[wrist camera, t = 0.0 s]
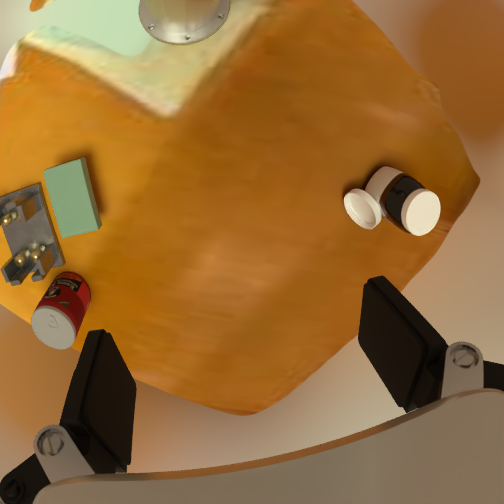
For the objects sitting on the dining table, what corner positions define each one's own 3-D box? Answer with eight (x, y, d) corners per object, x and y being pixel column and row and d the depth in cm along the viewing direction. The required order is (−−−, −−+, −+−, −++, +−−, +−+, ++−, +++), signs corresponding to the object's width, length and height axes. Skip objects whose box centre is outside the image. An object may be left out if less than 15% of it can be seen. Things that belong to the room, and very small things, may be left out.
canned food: (84, 268, 47) (64, 306, 37) (97, 308, 50) (82, 349, 41) (47, 272, 46) (22, 309, 36) (61, 310, 49) (42, 350, 40)
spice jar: (410, 191, 51) (452, 212, 41) (374, 239, 54) (410, 269, 44) (371, 148, 47) (414, 163, 36) (330, 202, 50) (365, 228, 39)
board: (48, 168, 36) (43, 170, 34) (85, 156, 36) (80, 159, 35) (67, 232, 40) (62, 238, 38) (102, 224, 41) (98, 229, 39)
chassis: (-4, 198, 38) (-24, 211, 32) (40, 182, 39) (21, 194, 34) (22, 271, 45) (7, 291, 39) (65, 262, 46) (52, 282, 40)
